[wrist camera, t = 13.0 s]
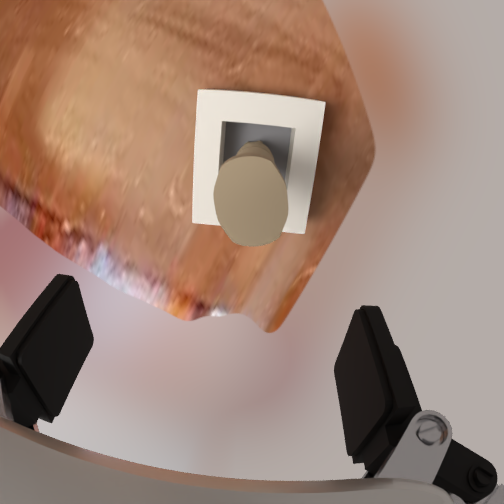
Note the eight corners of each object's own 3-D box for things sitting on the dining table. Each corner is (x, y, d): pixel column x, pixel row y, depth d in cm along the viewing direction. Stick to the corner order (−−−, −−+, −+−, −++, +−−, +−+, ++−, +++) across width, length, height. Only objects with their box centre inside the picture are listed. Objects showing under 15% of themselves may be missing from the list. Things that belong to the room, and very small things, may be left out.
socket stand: (207, 88, 32) (197, 89, 27) (317, 99, 32) (325, 102, 27) (200, 205, 38) (192, 222, 34) (300, 215, 39) (304, 234, 34)
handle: (274, 122, 32) (283, 152, 19) (280, 179, 35) (291, 243, 22) (229, 127, 33) (206, 161, 20) (237, 183, 36) (222, 249, 23)
